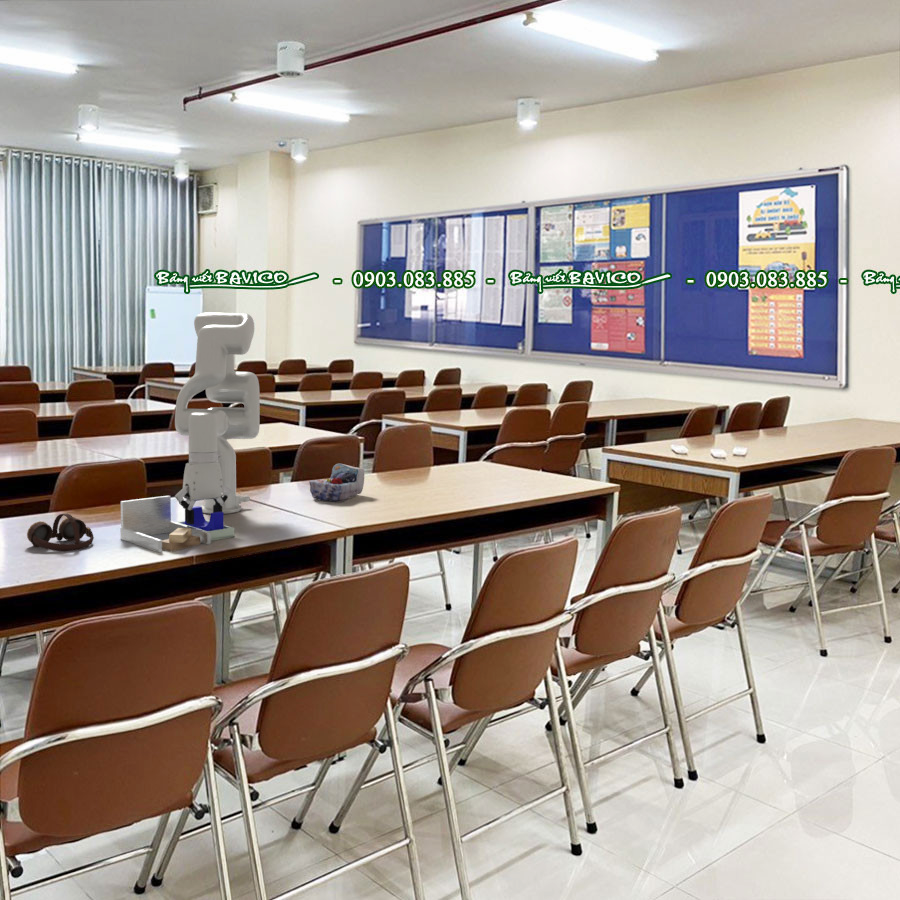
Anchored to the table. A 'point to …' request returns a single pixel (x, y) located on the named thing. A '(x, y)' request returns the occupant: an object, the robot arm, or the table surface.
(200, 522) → the cable clip
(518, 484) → the table surface
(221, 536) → the sage tray
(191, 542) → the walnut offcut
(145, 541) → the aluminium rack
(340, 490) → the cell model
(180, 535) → the oak offcut
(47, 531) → the goggles
